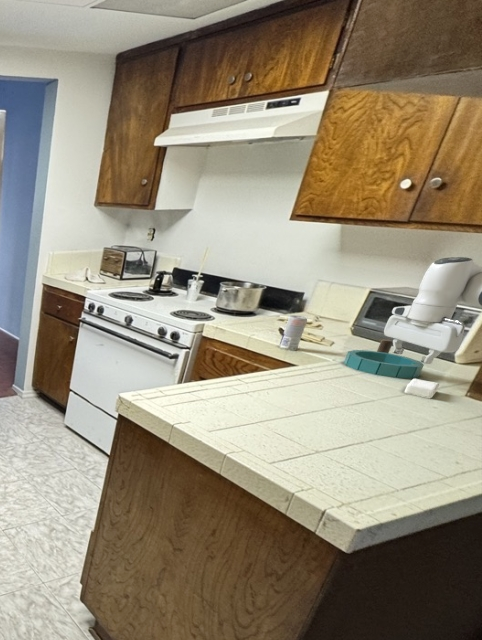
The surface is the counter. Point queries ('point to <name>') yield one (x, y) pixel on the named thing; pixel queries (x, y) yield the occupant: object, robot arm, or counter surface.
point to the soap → (422, 388)
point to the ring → (383, 364)
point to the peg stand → (385, 346)
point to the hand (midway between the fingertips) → (410, 358)
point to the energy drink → (293, 332)
